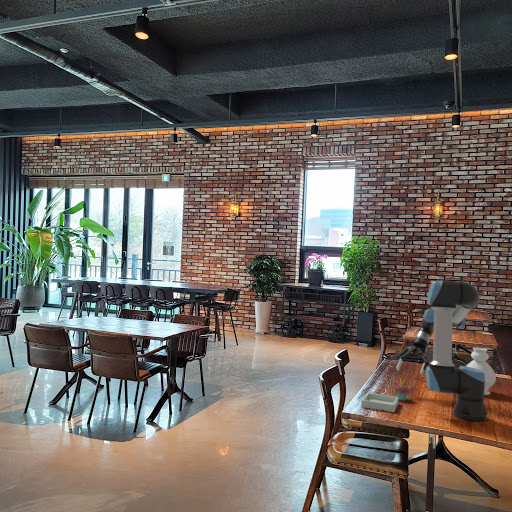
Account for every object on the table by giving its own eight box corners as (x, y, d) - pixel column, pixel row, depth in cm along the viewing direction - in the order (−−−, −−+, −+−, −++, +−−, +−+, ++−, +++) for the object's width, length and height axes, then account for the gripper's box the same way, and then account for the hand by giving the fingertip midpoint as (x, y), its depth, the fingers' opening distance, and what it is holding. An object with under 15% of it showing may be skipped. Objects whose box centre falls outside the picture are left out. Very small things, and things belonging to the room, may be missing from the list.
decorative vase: (458, 386, 305) (460, 344, 305) (490, 389, 301) (492, 347, 301) (464, 394, 288) (466, 350, 287) (498, 397, 284) (500, 352, 284)
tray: (394, 412, 248) (394, 405, 248) (361, 407, 254) (361, 400, 254) (398, 403, 262) (398, 397, 262) (366, 399, 268) (367, 392, 268)
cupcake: (406, 402, 266) (408, 379, 266) (390, 399, 270) (391, 376, 270) (411, 398, 273) (412, 376, 273) (395, 396, 278) (396, 373, 278)
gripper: (445, 349, 284) (433, 380, 273) (402, 342, 300) (389, 371, 289) (441, 340, 280) (429, 371, 269) (399, 334, 296) (385, 363, 285)
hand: (408, 371), depth 279 cm, fingers open, 13 cm apart
